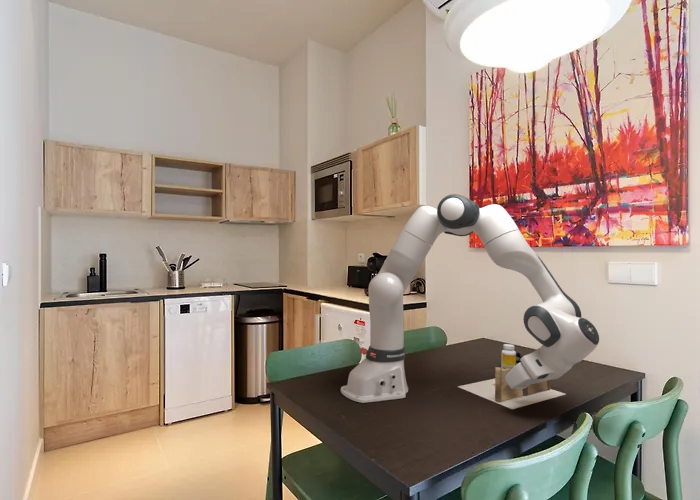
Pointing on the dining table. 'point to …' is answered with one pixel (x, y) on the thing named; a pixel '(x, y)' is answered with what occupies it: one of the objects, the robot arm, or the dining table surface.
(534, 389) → the fixed fence section
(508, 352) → the supplement bottle
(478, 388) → the card
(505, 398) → the folding fence section
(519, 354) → the black blocky piece
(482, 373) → the dining table surface
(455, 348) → the dining table surface
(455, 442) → the dining table surface
